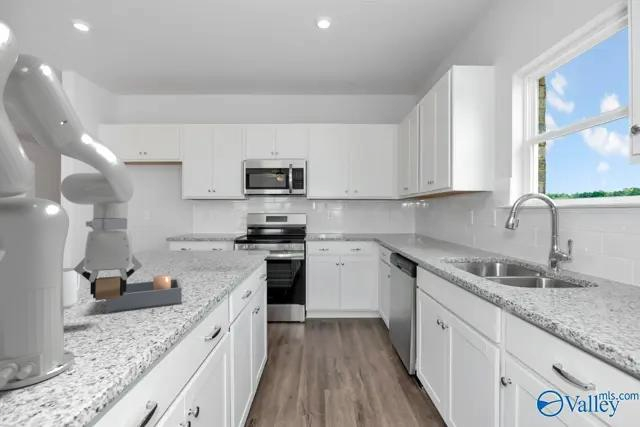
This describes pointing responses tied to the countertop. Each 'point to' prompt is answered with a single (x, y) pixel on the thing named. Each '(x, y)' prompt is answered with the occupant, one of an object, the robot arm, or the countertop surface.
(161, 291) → the tote
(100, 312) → the countertop surface
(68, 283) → the mug
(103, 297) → the walnut cube
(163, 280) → the terracotta cylinder
